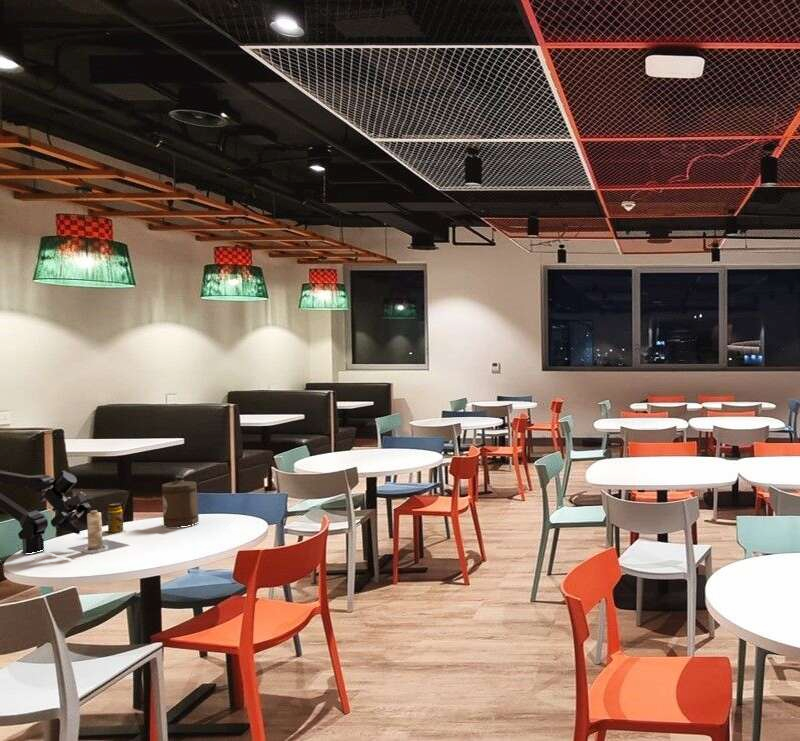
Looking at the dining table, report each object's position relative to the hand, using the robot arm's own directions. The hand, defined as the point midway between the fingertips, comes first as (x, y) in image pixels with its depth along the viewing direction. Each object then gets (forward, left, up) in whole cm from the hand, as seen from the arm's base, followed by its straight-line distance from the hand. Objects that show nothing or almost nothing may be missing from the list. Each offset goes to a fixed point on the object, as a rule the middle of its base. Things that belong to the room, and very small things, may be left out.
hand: (86, 530), depth 281 cm
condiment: (+25, +24, -9) cm, 35 cm away
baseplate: (+6, +2, -8) cm, 10 cm away
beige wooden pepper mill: (+2, -3, -8) cm, 8 cm away
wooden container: (+49, +10, -9) cm, 50 cm away
